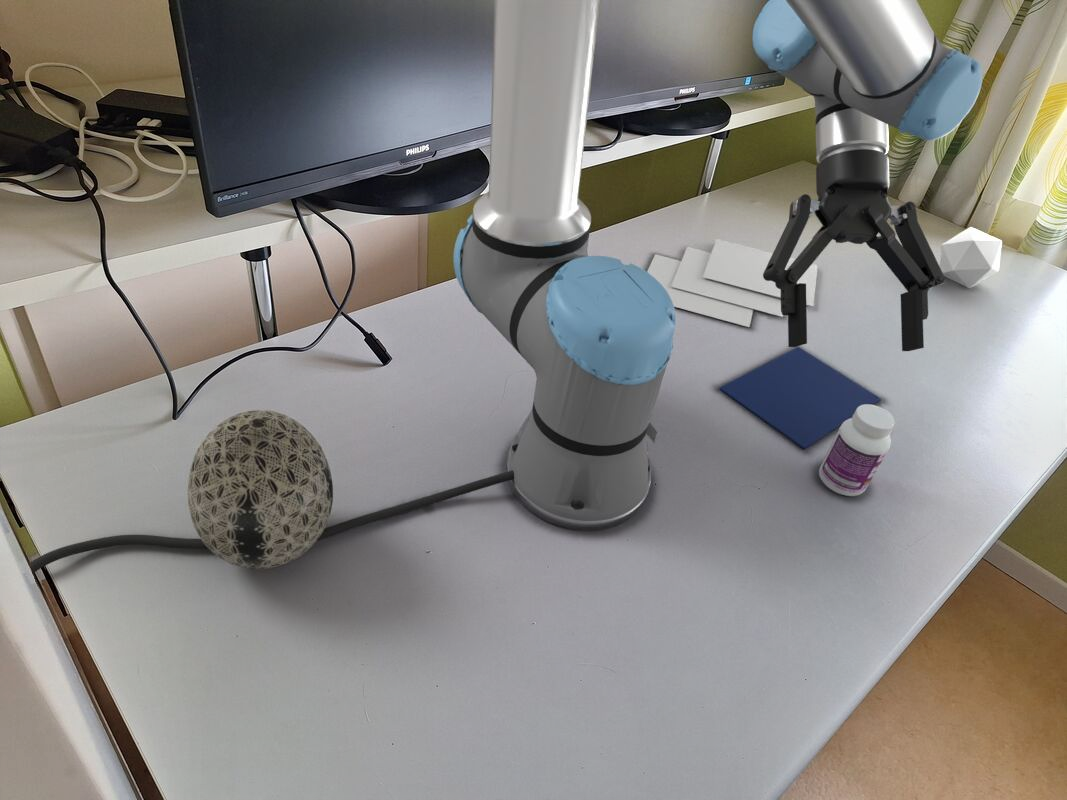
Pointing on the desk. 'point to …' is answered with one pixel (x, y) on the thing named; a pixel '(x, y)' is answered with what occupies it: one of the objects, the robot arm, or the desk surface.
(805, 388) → the cloth
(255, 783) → the desk surface
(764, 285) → the paper stack
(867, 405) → the pill bottle
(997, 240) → the die
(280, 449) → the decorative egg
